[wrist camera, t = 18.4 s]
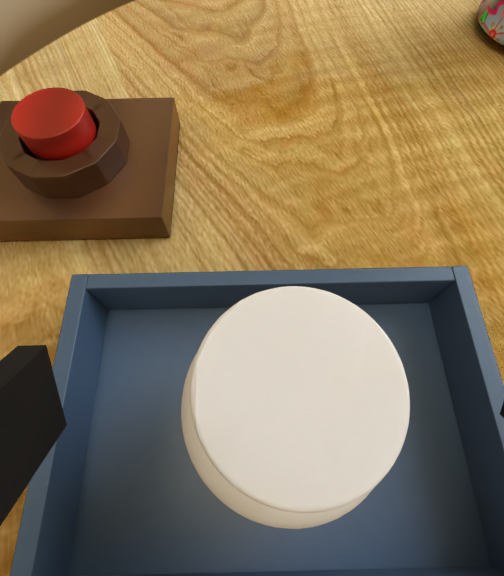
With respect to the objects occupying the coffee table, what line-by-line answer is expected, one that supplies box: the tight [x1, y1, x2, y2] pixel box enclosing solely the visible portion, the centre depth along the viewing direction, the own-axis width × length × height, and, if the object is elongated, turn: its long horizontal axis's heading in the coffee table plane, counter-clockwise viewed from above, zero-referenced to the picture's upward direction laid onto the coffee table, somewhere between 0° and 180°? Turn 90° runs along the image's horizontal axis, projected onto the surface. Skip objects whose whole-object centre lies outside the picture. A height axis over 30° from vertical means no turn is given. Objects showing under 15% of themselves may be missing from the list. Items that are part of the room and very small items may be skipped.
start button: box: [11, 88, 97, 161], centre depth 20 cm, size 4×4×2 cm
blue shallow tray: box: [10, 266, 504, 576], centre depth 16 cm, size 20×14×4 cm
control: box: [0, 91, 180, 241], centre depth 23 cm, size 12×10×4 cm
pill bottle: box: [181, 286, 410, 529], centre depth 12 cm, size 6×6×11 cm
